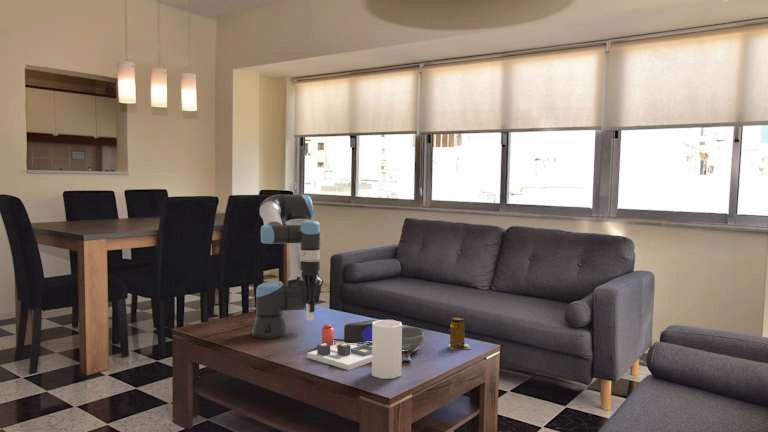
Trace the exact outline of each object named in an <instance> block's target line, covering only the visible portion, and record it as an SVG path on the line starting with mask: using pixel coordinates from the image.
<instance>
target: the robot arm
mask: <svg viewBox="0 0 768 432" xmlns="http://www.w3.org/2000/svg"><path fill="white" fill-rule="evenodd" d="M258 210H259V212H258V213H259V216H260V218H261V219H262V221H263V225H261V226H260V242H261V243H262V244H269V245H273V244H274V245H276V244H278V245H280V244H289V273H290V274H289V278H288V279H287V280H286V284H284V283H283V282H282V281H281V280H277V281H276V280H273V281H267V282H263V283H261V284H259V285H257V287H256V294H255V299H256V303H255V305H256V306H255V307H256V311H255V313H256V314H255V319H254V323H253V328H252V331H251V334H252V337H254V338H256V339H257V338H258V339H265V340H266V339H277V338H281V337H284V336H287V327H286V324H285V323H286V322H285V320H284V316H283V312H285V311H305V320H306V321H307V322H308V321H309V322H310V321H314V318H315V317H314V314H315V309H316V308H315V304H316V303H319V301H320V297H321V296H320V295H321V291H322V286H323V284H324V279H323V278H322V279H321V278H320V274H319V271H320V269H321V268H320V266H321V265H320V263H321V262H320V259H321V251H320V250H321V249H320V247H321V245H320V243H321V242H320V241H321V239H320V238H321V226H320V225H321V224H320V222H319V221H317V220H313V219H314V216H315V215H314V206H313V201H312V198H311V196H310V195H308V194H279V193H278V194H274V195H270V196H269V197H267V198H265V199H264V200H263V201H262V202H261V203H260V206H259V209H258ZM282 220H285V222H284V223H285V224H283V221H282Z"/></svg>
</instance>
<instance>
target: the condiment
mask: <svg viewBox="0 0 768 432" xmlns="http://www.w3.org/2000/svg"><path fill="white" fill-rule="evenodd" d="M450 321H451V322H450V327H449V332H450V333H449V343H448V347H449V349H451V350H470V349H471V347H470V345H469V344H467V343H465V336H466V335H465V332H466V331H465V330H466V329H465V326H466V325H465V319H464V318H462V317H453V318H451V320H450Z"/></svg>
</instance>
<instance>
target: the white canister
mask: <svg viewBox="0 0 768 432" xmlns="http://www.w3.org/2000/svg"><path fill="white" fill-rule="evenodd" d="M402 327H403V324H402V322H401V321H399V320H398V321H397V320H394V319H378V320H376V321H374V322H372V343H371V347H372V362H371V376H372V377H374V378H378V379H379V380H380V379H381V380H390V379H391V380H394V379H396V378H399V377H401V376H402V353H403V352H402Z"/></svg>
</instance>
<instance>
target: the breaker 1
mask: <svg viewBox="0 0 768 432" xmlns="http://www.w3.org/2000/svg"><path fill="white" fill-rule="evenodd" d="M316 348H317V349H316V350H317V354H320V355H323V356H326V355H329V354H330V345H328V344H326V343H322V342H321V343H320V344H317V345H316Z"/></svg>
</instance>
